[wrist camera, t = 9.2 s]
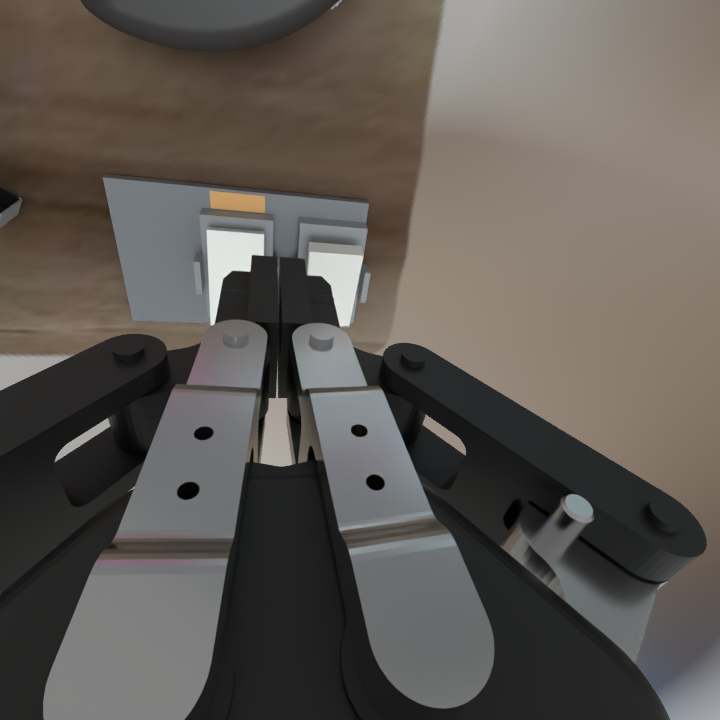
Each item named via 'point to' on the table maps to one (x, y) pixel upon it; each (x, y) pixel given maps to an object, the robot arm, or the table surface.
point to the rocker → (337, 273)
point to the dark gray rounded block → (208, 20)
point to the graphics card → (8, 206)
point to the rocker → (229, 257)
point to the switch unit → (189, 237)
